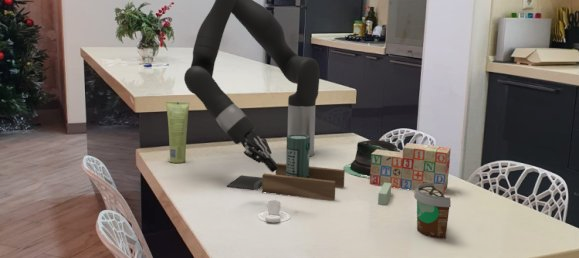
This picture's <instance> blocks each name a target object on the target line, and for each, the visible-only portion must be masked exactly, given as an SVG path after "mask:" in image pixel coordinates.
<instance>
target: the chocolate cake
mask: <svg viewBox="0 0 579 258" xmlns="http://www.w3.org/2000/svg"><path fill="white" fill-rule="evenodd" d="M377 149H378V150H386V151H395V152H398V146H397V145H396V144H394V143H392V142H391V141H390V142H389V141H386V140H379V139H368V140H362V141H359V142H357V145H356V154H355V158H354V160H352V162H350V163H349V164H346V165H344V166H343V169H342V170H345V172H346V173H348V174H350V175H353V176H358V177H361V178H366V179H368V178H367V177H370V170H371V154H372V153H373V152H374V151H375V150H377ZM361 175H362V176H361ZM364 175H367V176H364Z"/></svg>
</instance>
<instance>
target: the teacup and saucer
mask: <svg viewBox="0 0 579 258" xmlns="http://www.w3.org/2000/svg"><path fill="white" fill-rule="evenodd" d="M266 212H268V213H266ZM280 212H283V213H285V214H287V215H286V216H287V217H286V216H285V217H284V218H283V219H282V218H281V216H280V214H281V213H280ZM264 213H266V214H268V215H266V216H265V217H263V216H264V215H265V214H264ZM263 214H264V215H263ZM262 215H263V216H262ZM262 217H263V218H264V219H263V218H262ZM257 218H258V219H259V220H261V221H263V222H266V223H281V222H285V221H286V222H287V221H288V220H290V219H291V214H290V213H288V212H285V211H282V210H281V201H280V200H277V199H276V200H275V199H271V200H268V201H267V210H266V211H262V212H260V213H258V215H257Z"/></svg>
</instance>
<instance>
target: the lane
mask: <svg viewBox="0 0 579 258" xmlns="http://www.w3.org/2000/svg"><path fill="white" fill-rule="evenodd" d="M276 164H277V165H278V166H279V168H278V169H276V170H275V174H273V173H266V172H265V173H263V174H262V177H261V178H262V187H261V191H262V193H263V192H266V193H265V194H271V193H276V194H275V195H280V194H282V195H283V196H288V195H290V197H297V196H298V198H307V199H315V200H316V199H317V200H325V201H332V202H333V201H335V199H336V188H337V189H344V188H345V174H346V173H345V172H346V171H345V170H344V169H339V168H338V169H337V168H329V167H319V166H310V165H309V178H302V177H293V176H286V163H280V162H279V163H278V162H277V163H276Z"/></svg>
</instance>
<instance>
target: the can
mask: <svg viewBox="0 0 579 258" xmlns="http://www.w3.org/2000/svg"><path fill="white" fill-rule="evenodd" d="M309 153H310V136H308V135H301V134H292V135H288V134H287V136H286V155H285V157H286V159H285V160H286V161H285V164H286V176H293V177H302V178H309V166H310V156H309Z"/></svg>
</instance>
